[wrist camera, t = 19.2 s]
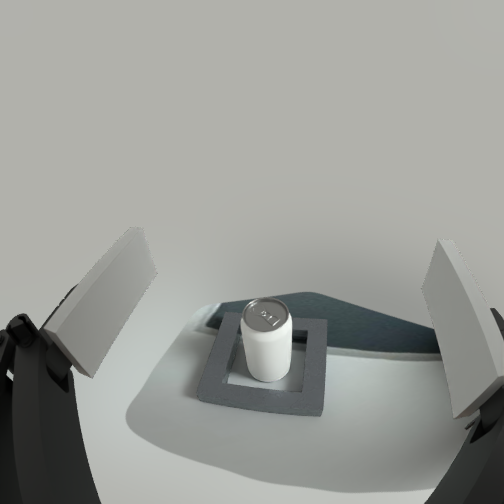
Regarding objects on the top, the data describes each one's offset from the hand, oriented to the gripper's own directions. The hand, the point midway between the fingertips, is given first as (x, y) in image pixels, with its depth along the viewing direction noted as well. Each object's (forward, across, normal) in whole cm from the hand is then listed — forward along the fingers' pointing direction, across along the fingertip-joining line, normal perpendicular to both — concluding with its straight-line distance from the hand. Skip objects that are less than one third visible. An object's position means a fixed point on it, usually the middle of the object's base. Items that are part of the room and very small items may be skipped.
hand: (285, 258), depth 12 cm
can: (+13, -4, -30) cm, 33 cm away
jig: (+13, -4, -30) cm, 33 cm away
